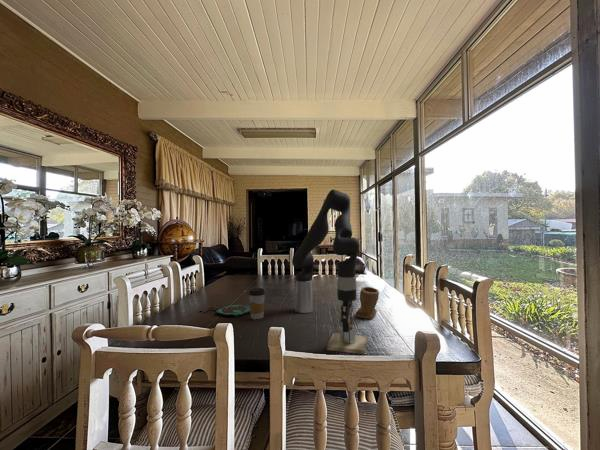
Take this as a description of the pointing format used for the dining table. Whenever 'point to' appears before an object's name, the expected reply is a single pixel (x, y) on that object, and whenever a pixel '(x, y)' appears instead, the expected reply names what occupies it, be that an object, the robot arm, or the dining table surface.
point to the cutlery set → (235, 310)
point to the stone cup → (367, 302)
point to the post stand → (351, 348)
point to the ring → (347, 335)
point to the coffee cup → (257, 302)
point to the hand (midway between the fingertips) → (347, 328)
